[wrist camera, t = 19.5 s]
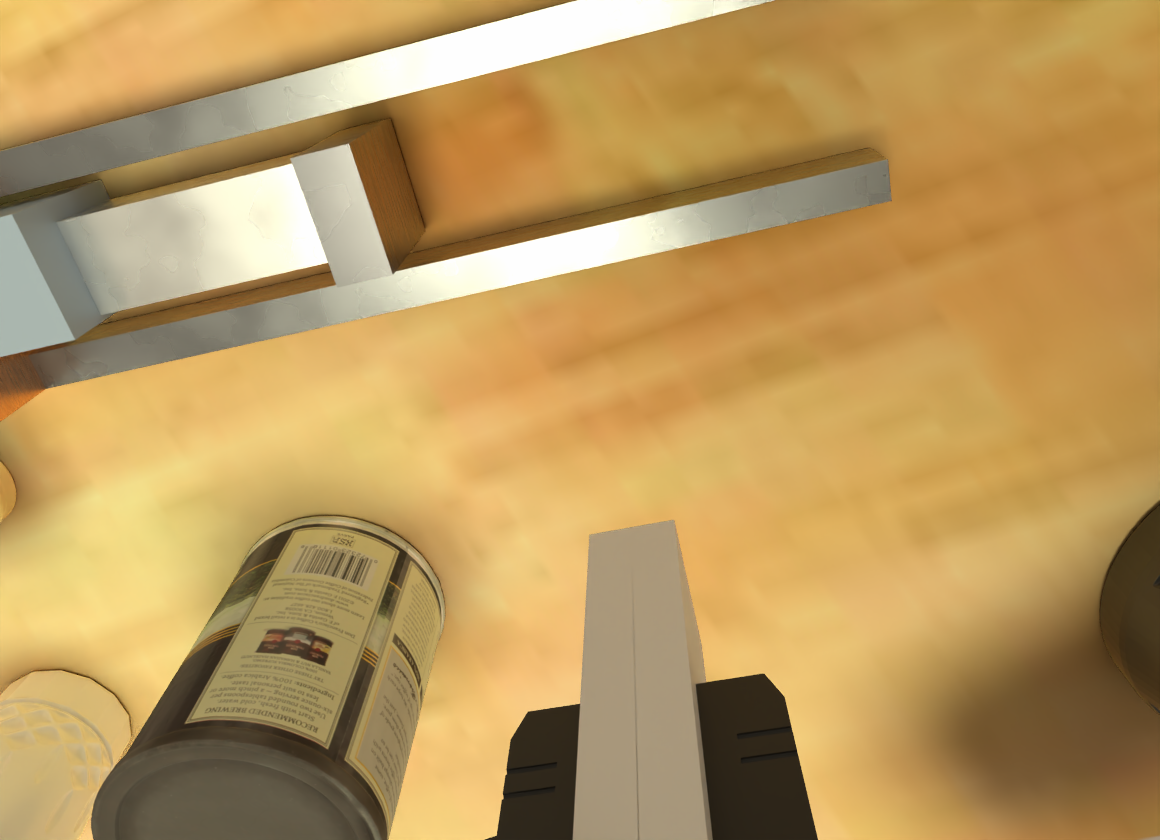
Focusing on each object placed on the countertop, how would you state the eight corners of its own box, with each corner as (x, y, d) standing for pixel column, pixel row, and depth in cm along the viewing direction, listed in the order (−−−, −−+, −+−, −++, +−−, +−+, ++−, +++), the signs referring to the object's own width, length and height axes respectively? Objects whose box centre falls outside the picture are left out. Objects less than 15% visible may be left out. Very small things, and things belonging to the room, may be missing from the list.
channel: (848, -71, 31) (898, -82, 26) (873, 186, 35) (921, 224, 30) (-118, 181, 36) (-246, 216, 31) (-5, 383, 40) (-101, 446, 34)
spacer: (101, 179, 36) (11, 214, 30) (151, 288, 38) (74, 339, 32) (-3, 205, 36) (-109, 244, 31) (52, 311, 38) (-39, 366, 33)
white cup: (-17, 650, 47) (-167, 810, 38) (137, 669, 47) (25, 833, 38) (5, 761, 50) (-128, 933, 41) (149, 779, 50) (48, 953, 41)
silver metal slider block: (390, 118, 34) (348, 143, 29) (425, 230, 36) (392, 274, 31) (101, 190, 36) (10, 227, 30) (149, 295, 38) (71, 348, 32)
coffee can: (283, 697, 47) (163, 960, 35) (205, 534, 43) (35, 765, 30) (473, 667, 46) (420, 928, 33) (412, 495, 42) (326, 720, 29)
